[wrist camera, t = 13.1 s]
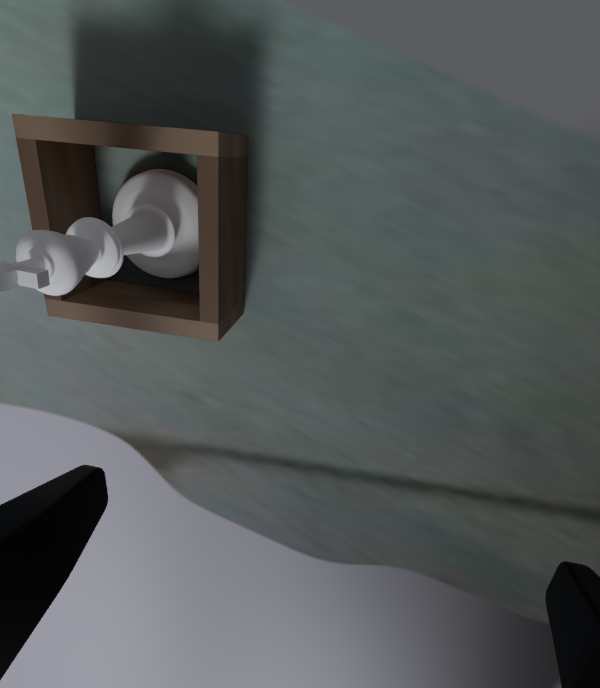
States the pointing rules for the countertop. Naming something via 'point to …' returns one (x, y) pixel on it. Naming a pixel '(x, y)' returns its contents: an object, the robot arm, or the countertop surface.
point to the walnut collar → (83, 201)
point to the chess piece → (116, 238)
